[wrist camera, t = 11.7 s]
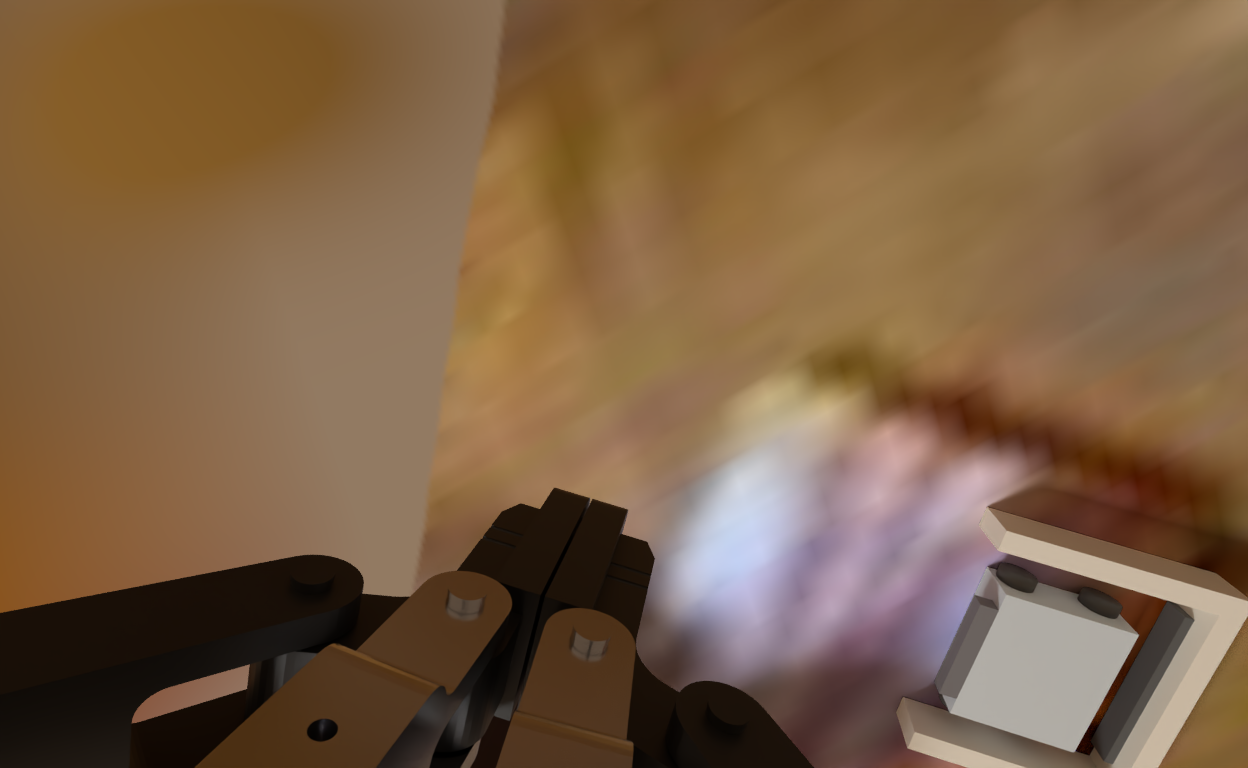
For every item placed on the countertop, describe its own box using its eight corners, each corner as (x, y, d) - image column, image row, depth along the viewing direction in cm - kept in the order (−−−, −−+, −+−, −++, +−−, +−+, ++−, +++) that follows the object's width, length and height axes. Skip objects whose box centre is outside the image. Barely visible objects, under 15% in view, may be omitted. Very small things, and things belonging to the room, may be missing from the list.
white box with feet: (973, 552, 40) (992, 579, 37) (1114, 594, 39) (1144, 625, 36) (915, 681, 43) (928, 715, 40) (1046, 723, 42) (1069, 760, 39)
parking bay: (986, 506, 39) (1006, 530, 36) (1216, 573, 38) (1255, 603, 35) (896, 712, 43) (907, 748, 40) (1101, 777, 42) (1127, 818, 39)
